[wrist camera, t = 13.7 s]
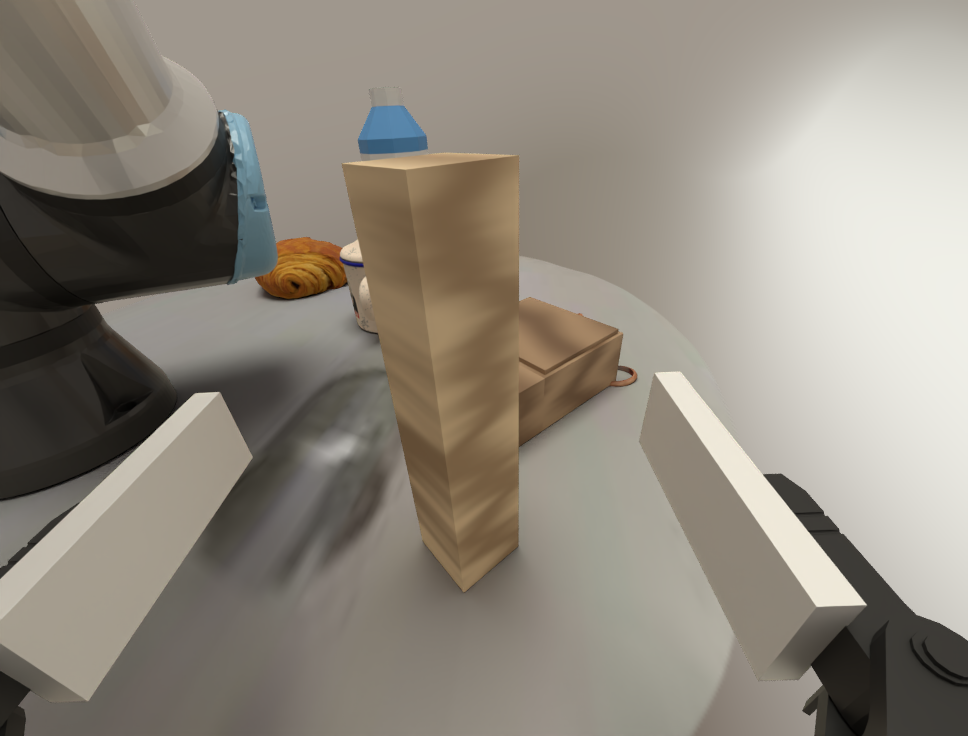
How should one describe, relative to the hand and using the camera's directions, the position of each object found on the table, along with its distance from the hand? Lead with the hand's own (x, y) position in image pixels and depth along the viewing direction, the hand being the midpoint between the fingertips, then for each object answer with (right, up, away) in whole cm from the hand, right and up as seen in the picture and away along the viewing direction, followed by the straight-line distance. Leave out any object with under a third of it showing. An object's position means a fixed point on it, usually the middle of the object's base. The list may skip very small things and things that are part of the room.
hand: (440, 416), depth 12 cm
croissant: (-27, +15, +52) cm, 60 cm away
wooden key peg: (+1, -9, +11) cm, 14 cm away
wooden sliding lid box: (+4, -1, +23) cm, 24 cm away
